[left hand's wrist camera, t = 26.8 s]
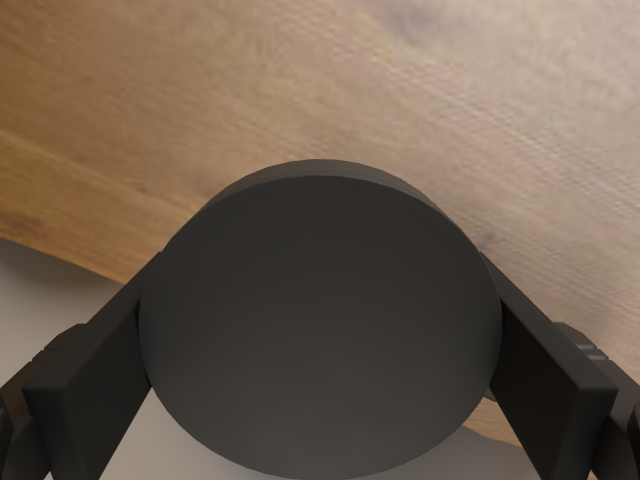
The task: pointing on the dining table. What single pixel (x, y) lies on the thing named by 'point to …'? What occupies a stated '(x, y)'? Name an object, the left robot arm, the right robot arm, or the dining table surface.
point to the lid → (320, 322)
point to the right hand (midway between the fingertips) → (301, 266)
